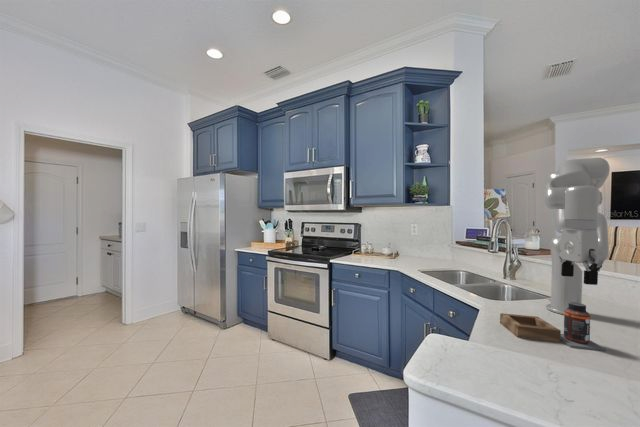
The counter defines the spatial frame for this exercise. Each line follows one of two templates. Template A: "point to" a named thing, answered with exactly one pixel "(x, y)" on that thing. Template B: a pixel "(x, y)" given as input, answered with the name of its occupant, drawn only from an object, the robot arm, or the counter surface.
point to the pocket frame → (530, 327)
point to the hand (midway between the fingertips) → (578, 280)
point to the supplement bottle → (577, 323)
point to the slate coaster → (581, 344)
